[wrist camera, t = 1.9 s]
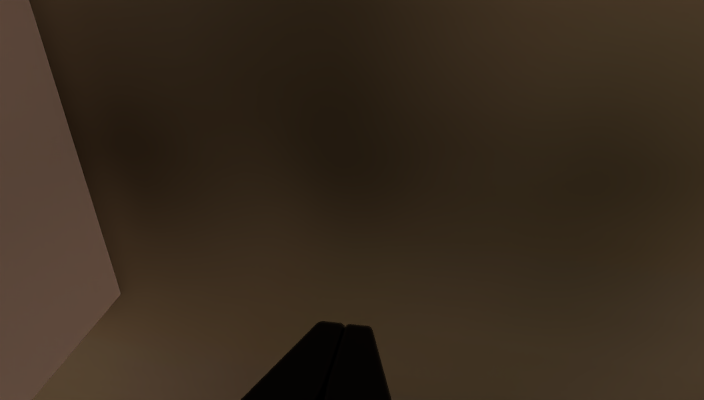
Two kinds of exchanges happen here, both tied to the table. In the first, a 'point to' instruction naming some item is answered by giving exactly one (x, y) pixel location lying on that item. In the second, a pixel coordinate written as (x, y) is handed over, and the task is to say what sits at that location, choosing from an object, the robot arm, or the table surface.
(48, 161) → the beige rectangular block
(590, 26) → the table surface
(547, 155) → the table surface
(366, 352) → the robot arm
